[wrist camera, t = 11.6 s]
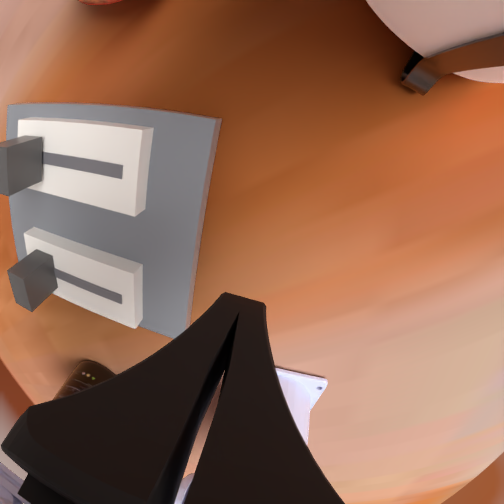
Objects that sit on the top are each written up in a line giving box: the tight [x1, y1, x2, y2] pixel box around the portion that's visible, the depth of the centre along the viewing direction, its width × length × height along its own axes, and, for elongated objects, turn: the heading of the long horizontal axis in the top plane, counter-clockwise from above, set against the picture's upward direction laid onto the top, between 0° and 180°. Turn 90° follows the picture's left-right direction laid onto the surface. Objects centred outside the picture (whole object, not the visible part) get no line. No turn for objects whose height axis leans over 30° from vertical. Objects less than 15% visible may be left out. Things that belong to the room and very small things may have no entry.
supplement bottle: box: [53, 361, 116, 400], centre depth 25 cm, size 7×7×12 cm
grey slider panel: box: [6, 102, 222, 339], centre depth 17 cm, size 16×18×6 cm
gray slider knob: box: [0, 135, 42, 196], centre depth 14 cm, size 3×2×3 cm, turn 168°
